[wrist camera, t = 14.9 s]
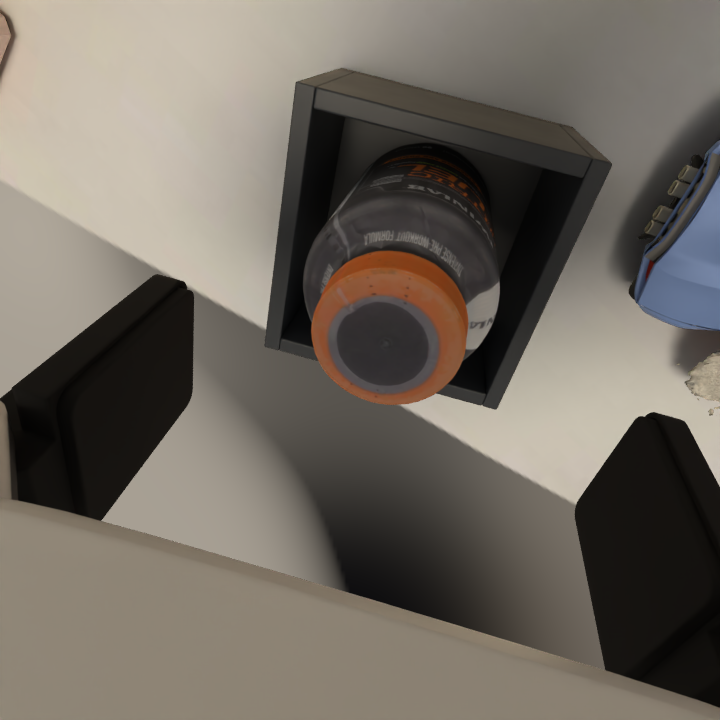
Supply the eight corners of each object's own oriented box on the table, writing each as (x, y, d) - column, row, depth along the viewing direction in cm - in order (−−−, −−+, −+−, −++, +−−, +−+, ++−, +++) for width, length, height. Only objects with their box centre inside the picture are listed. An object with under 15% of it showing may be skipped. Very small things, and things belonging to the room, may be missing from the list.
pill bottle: (518, 183, 21) (563, 309, 11) (445, 298, 24) (433, 469, 15) (389, 112, 20) (323, 183, 11) (331, 240, 23) (243, 379, 14)
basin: (573, 127, 20) (614, 163, 14) (489, 329, 25) (496, 410, 20) (340, 67, 20) (295, 81, 15) (306, 279, 25) (263, 347, 20)
